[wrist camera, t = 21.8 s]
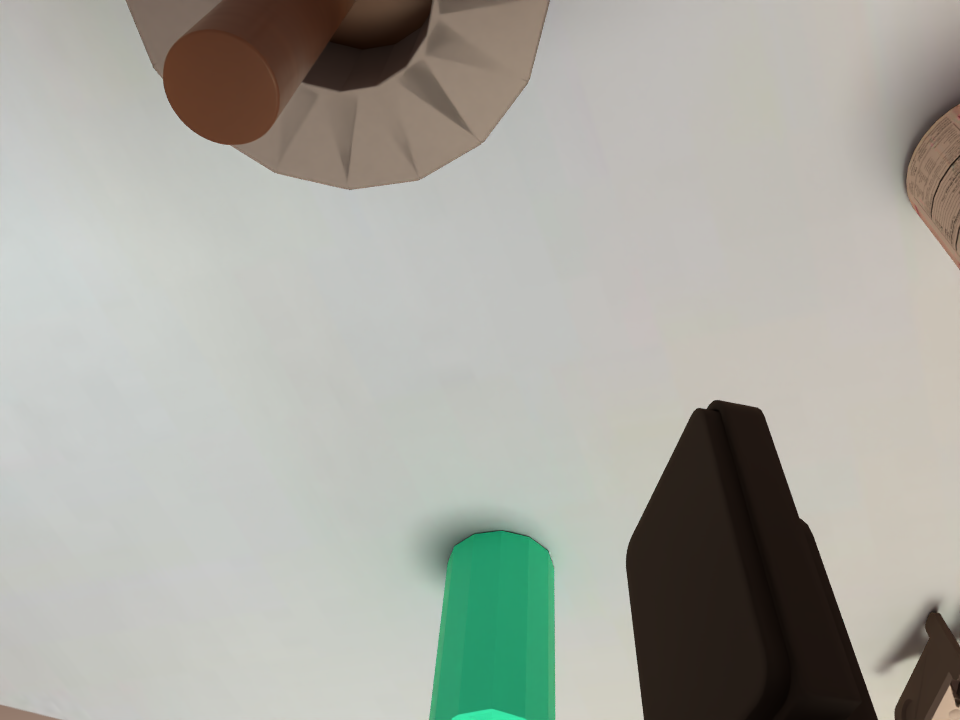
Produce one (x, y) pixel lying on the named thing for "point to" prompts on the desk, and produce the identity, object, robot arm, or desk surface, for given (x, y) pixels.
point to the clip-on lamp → (933, 678)
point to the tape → (385, 91)
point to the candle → (496, 632)
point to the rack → (269, 57)
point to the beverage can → (939, 181)
